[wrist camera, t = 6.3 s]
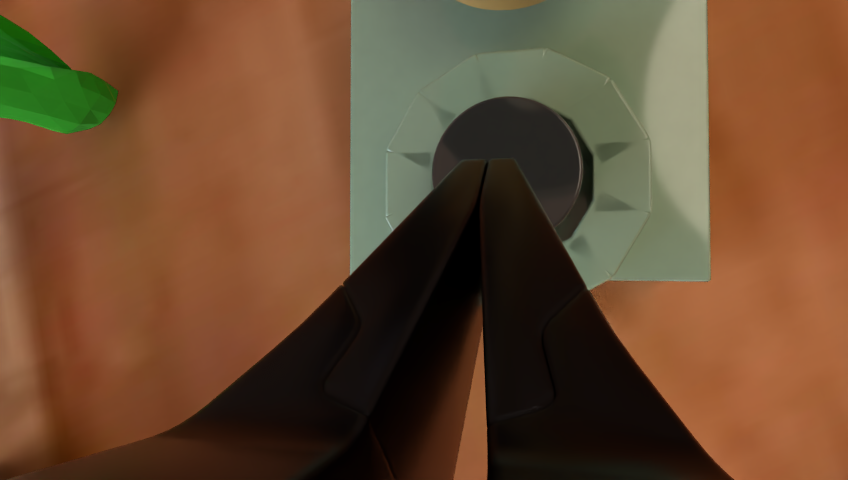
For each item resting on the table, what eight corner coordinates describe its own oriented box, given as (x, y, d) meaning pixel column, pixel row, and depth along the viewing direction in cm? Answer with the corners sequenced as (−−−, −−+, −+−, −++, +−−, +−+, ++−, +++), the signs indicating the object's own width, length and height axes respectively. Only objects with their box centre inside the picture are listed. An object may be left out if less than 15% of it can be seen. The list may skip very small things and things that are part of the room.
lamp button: (580, 247, 13) (583, 245, 11) (448, 247, 14) (430, 246, 12) (579, 113, 13) (582, 90, 11) (448, 120, 14) (430, 99, 12)
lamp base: (670, 294, 18) (734, 318, 12) (401, 290, 21) (322, 308, 14) (666, -63, 19) (726, -243, 12) (401, -31, 21) (324, -169, 14)
